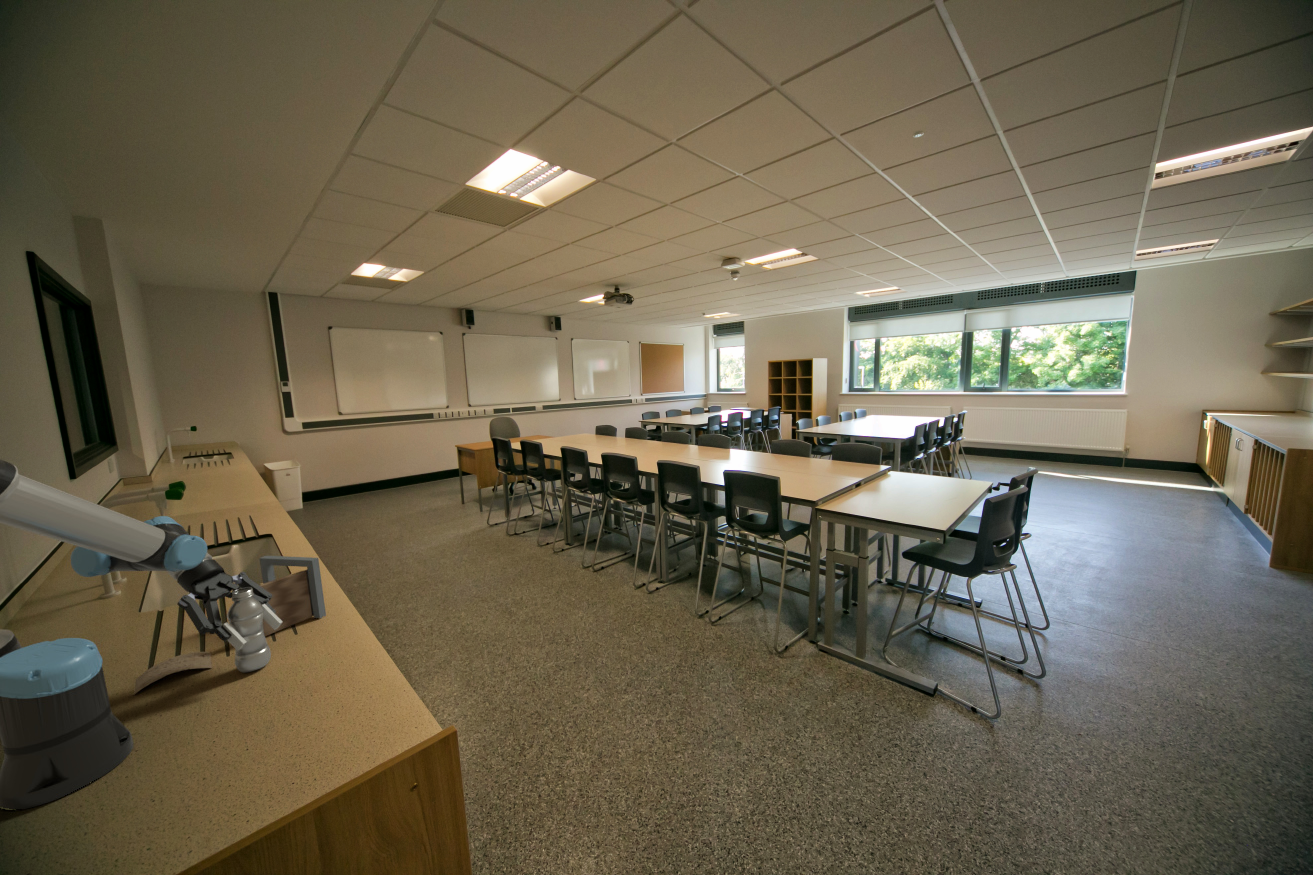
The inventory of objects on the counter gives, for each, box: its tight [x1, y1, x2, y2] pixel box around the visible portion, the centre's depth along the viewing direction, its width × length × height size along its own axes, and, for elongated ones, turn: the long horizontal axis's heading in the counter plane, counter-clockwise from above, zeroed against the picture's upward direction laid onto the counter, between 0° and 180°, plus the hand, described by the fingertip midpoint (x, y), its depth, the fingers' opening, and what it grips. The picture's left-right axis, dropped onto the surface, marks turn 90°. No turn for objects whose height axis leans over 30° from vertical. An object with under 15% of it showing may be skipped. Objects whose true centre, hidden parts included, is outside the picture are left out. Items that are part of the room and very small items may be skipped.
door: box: [258, 569, 314, 637], centre depth 127 cm, size 13×3×14 cm, turn 151°
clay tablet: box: [133, 651, 213, 696], centre depth 110 cm, size 14×10×3 cm
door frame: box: [259, 555, 327, 619], centre depth 134 cm, size 2×18×18 cm, turn 81°
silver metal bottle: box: [226, 587, 272, 673], centre depth 109 cm, size 6×7×20 cm
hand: (261, 635), depth 109 cm, fingers open, 8 cm apart
